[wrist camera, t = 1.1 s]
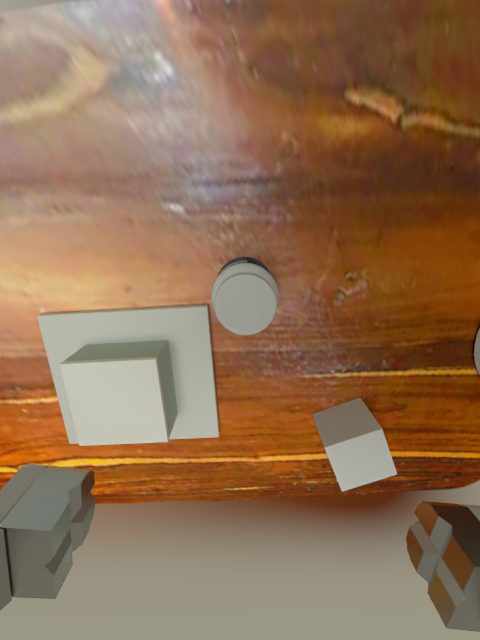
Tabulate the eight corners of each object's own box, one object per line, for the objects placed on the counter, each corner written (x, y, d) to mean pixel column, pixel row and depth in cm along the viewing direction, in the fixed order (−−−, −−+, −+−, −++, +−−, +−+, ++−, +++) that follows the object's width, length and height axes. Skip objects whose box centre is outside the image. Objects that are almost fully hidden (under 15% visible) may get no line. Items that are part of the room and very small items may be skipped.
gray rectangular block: (359, 396, 36) (382, 428, 30) (373, 436, 38) (397, 474, 32) (311, 413, 37) (324, 447, 31) (326, 452, 38) (342, 491, 33)
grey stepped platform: (208, 304, 33) (200, 320, 27) (219, 431, 37) (215, 468, 32) (42, 313, 33) (1, 330, 28) (73, 438, 38) (43, 475, 32)
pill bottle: (280, 294, 33) (296, 321, 23) (233, 318, 33) (230, 355, 24) (255, 245, 31) (262, 253, 22) (207, 272, 32) (192, 290, 22)
